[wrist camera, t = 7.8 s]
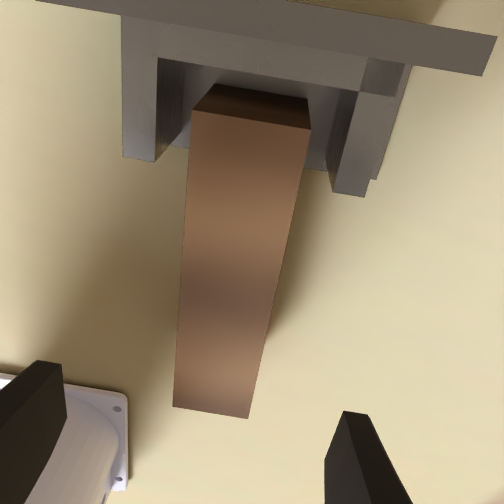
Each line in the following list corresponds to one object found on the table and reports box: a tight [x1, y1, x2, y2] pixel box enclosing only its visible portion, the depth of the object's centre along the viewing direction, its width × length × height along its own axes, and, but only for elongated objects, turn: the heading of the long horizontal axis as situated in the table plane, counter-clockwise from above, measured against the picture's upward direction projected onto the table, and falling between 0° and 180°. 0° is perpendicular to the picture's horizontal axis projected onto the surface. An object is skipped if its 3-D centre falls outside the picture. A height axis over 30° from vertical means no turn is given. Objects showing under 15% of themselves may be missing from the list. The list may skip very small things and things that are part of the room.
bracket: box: [36, 0, 498, 197], centre depth 13 cm, size 5×10×6 cm, turn 82°
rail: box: [172, 83, 311, 419], centre depth 17 cm, size 13×3×4 cm, turn 172°
